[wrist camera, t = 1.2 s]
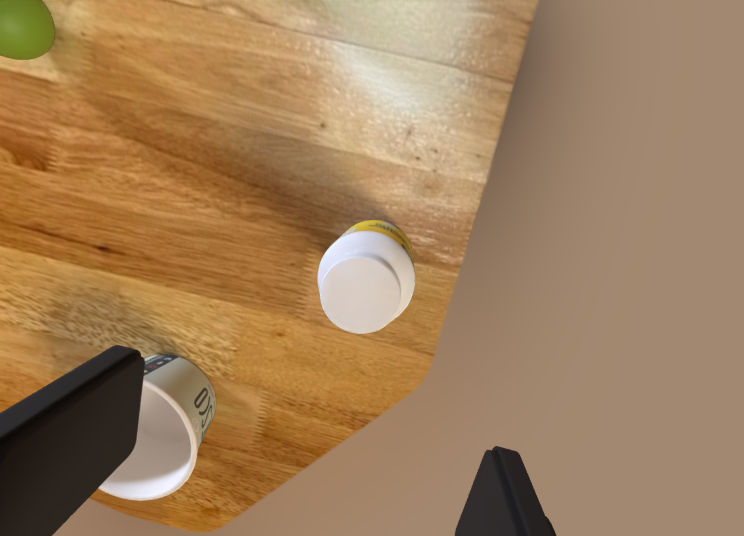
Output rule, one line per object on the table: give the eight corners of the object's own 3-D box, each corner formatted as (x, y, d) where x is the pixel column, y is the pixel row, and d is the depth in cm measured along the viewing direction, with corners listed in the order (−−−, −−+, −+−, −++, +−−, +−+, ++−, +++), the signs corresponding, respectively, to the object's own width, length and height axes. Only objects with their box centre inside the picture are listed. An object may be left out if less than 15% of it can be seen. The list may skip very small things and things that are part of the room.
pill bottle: (424, 276, 34) (434, 328, 22) (355, 302, 35) (331, 363, 24) (396, 205, 32) (391, 223, 21) (325, 234, 34) (286, 265, 22)
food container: (98, 344, 38) (37, 379, 32) (216, 336, 37) (177, 370, 30) (129, 452, 41) (79, 503, 34) (240, 447, 39) (209, 500, 33)
